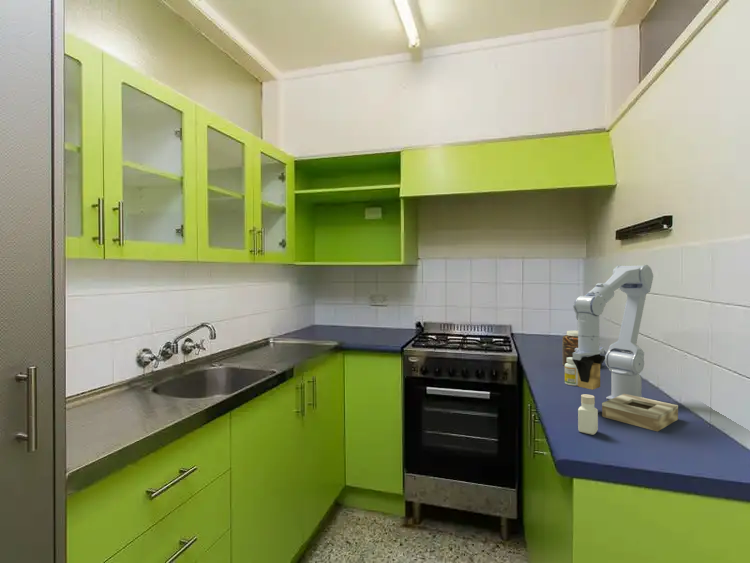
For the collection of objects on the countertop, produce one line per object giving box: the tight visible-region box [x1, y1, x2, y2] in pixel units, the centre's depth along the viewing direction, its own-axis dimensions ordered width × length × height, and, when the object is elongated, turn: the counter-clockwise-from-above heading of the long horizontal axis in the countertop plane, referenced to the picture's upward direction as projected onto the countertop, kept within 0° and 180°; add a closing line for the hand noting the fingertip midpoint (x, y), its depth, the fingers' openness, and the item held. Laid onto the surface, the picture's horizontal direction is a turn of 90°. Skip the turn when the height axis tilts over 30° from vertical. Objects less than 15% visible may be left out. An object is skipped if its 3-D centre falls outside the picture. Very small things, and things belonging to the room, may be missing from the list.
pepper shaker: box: [577, 393, 599, 435], centre depth 107 cm, size 4×4×10 cm
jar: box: [561, 330, 578, 367], centre depth 179 cm, size 12×12×15 cm
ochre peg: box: [577, 363, 601, 391], centre depth 123 cm, size 4×4×7 cm
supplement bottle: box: [564, 357, 578, 387], centre depth 151 cm, size 5×5×10 cm
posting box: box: [601, 394, 679, 432], centre depth 116 cm, size 14×14×4 cm
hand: (589, 380), depth 123 cm, fingers closed on ochre peg, 4 cm apart
